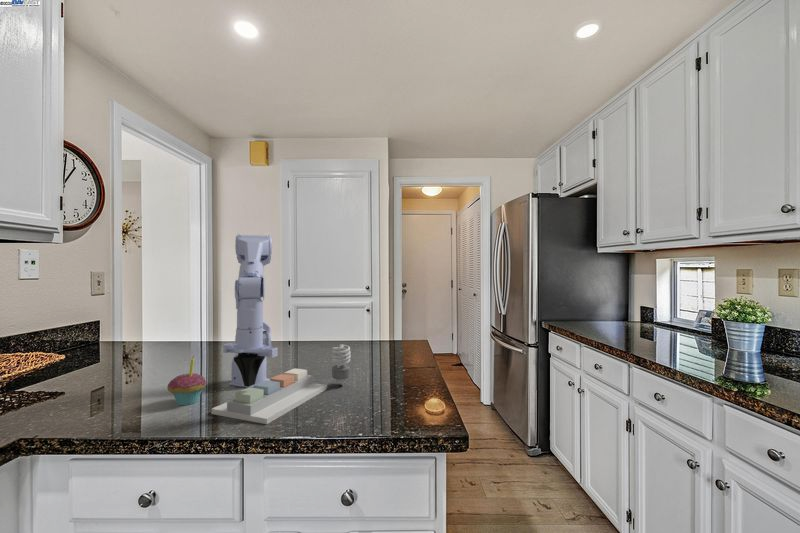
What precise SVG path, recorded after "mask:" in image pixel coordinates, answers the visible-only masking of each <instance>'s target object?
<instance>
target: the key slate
mask: <svg viewBox="0 0 800 533" xmlns="http://www.w3.org/2000/svg"><path fill="white" fill-rule="evenodd" d="M254 388H257V389H264V395H270V394H272V393H275V392H277V391H279V390H280V382H275V381H268V380H265V381H263V382H260V383H258V384H256V385H254Z"/></svg>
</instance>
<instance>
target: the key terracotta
mask: <svg viewBox="0 0 800 533" xmlns="http://www.w3.org/2000/svg"><path fill="white" fill-rule="evenodd" d="M269 379H270V381H275V382H280V387H281V388H285V387H287V386H289V385H291V384H293V383H294V376H293V375H285V373H280V374H278V375H275V376H273V377H271V378H269Z"/></svg>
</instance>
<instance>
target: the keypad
mask: <svg viewBox="0 0 800 533" xmlns="http://www.w3.org/2000/svg"><path fill="white" fill-rule="evenodd" d="M326 390H328V385H327V384H323V383H316V382H314V375H311V374H307V377H306V378H304V379H302V380H300V381H294V383H293V384H291V385H289V386H287V387H285V388H281V387H280V390H279V391H277V392H275V393H272V394H270V395H264V398H262V399H260V400H258V401H256V402H254V403H252V404H246V403H240V402H235V398H233V399H230V400H228V401H226V402H223V403H221V404H220V405H217V406H214V407H212V408H211V415H216V416H220V417H226V418H232V419H236V420H242V421H248V422H252V423H257V424H258V423H259V424H263V425H269V424H270V423H272V422H273V421H275V420H277V419H278V418H280V417H282V416H284V415H285V414H287V413H288V412H290V411H292V410H293V409H295V408H297V407H299V406H301V405H302V404H304V403H306V402H308V401H309V400H311V399H312V398H314V397H317V396H318V395H319V394H321V393H322V392H325V391H326Z"/></svg>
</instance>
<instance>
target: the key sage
mask: <svg viewBox="0 0 800 533" xmlns="http://www.w3.org/2000/svg"><path fill="white" fill-rule="evenodd" d="M262 398H264V389H257V388H250V387H249V388H248V387H245V388H244V389H241V390H239V391H236V392H235V393H234V399H235V402H240V403H246V404H252V403H254V402H256V401H258V400H260V399H262Z"/></svg>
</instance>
